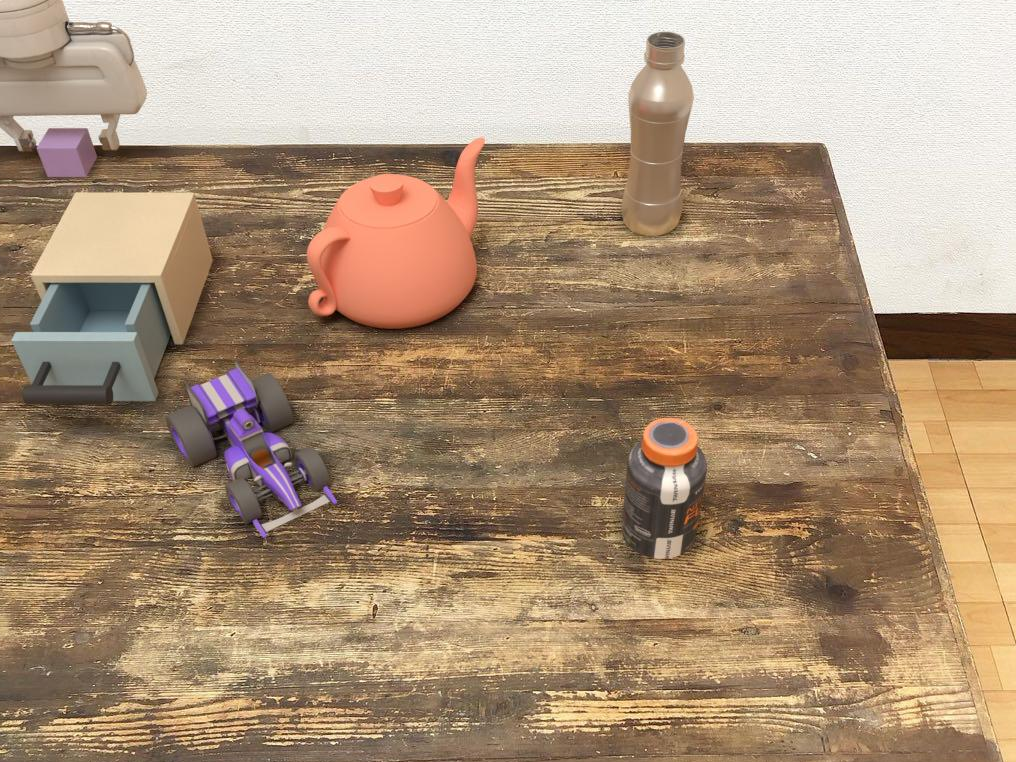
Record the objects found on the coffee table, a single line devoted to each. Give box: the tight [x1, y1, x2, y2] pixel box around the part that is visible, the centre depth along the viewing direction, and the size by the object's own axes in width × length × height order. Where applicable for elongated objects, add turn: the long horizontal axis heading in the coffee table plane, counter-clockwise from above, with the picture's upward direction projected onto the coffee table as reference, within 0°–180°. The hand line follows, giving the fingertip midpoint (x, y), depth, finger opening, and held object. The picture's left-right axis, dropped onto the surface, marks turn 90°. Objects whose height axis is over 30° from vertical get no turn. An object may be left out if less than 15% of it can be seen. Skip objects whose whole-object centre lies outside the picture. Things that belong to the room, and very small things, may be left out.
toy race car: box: [165, 359, 339, 539], centre depth 88 cm, size 10×15×6 cm, turn 35°
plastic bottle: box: [620, 31, 695, 237], centre depth 107 cm, size 6×7×20 cm
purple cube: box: [36, 127, 98, 178], centre depth 121 cm, size 4×4×4 cm
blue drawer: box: [10, 283, 172, 406], centre depth 95 cm, size 17×10×7 cm, turn 0°
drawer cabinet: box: [30, 192, 214, 345], centre depth 102 cm, size 14×12×9 cm
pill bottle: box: [621, 417, 708, 560], centre depth 81 cm, size 6×6×11 cm
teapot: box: [306, 136, 486, 330], centre depth 103 cm, size 22×16×12 cm
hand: (70, 148), depth 120 cm, fingers open, 8 cm apart
